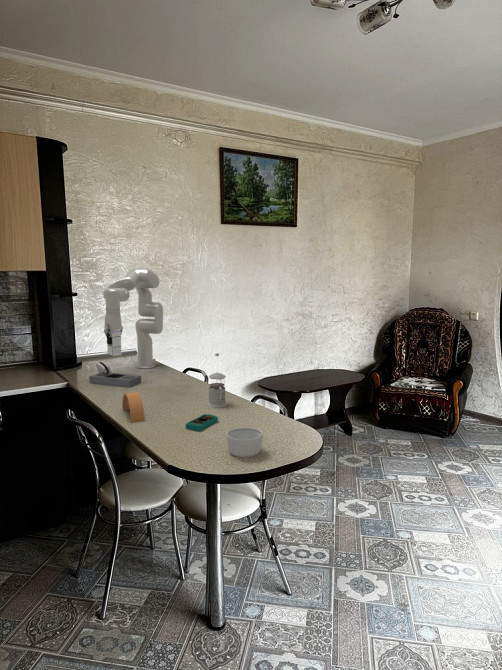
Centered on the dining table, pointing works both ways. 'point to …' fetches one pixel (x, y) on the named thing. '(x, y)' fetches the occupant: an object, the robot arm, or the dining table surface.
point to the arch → (133, 406)
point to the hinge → (103, 367)
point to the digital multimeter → (201, 422)
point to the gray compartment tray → (115, 379)
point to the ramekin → (244, 441)
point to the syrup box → (115, 344)
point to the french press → (217, 391)
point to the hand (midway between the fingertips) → (114, 342)
